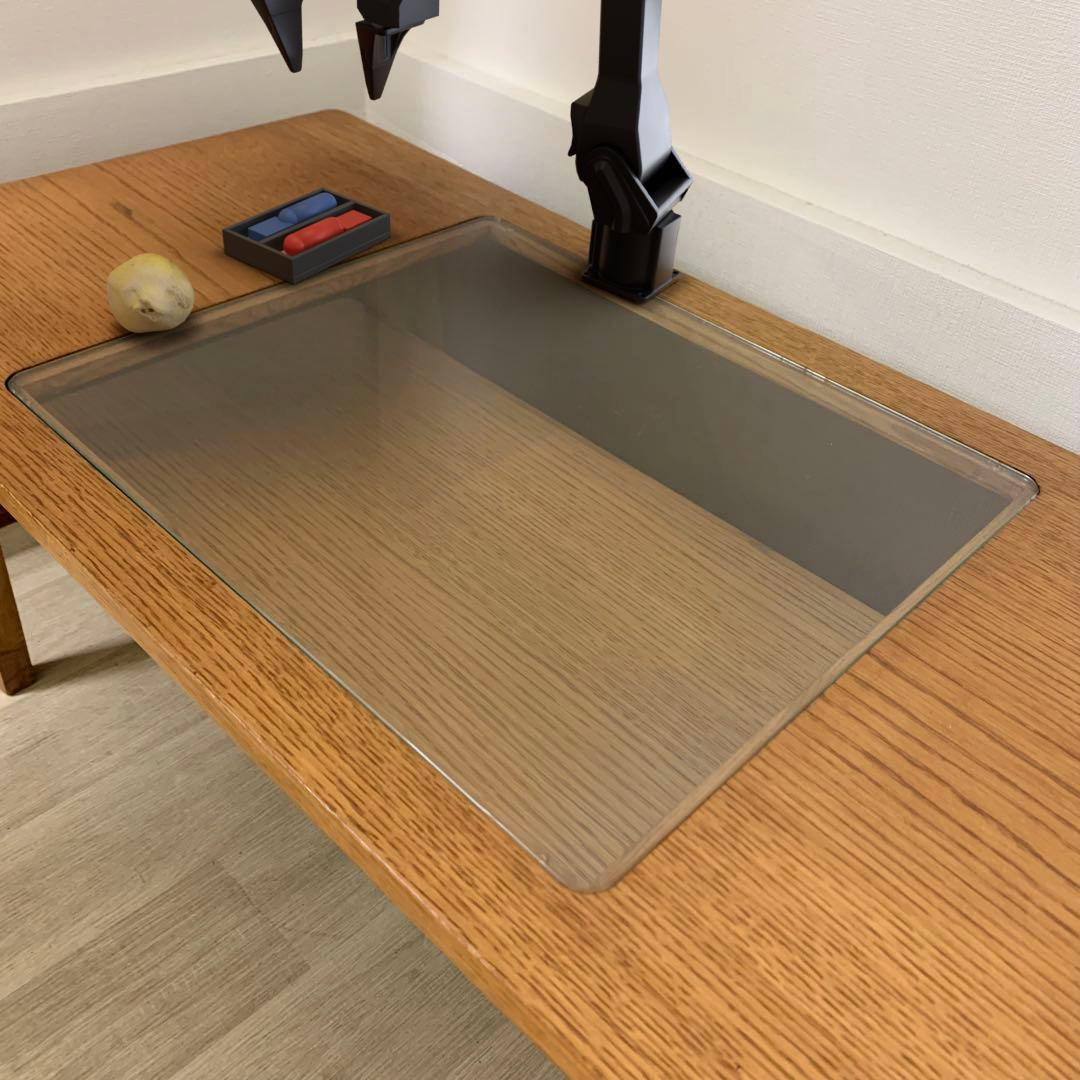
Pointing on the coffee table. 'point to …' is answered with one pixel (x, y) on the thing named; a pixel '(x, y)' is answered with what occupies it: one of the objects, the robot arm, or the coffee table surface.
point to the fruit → (149, 294)
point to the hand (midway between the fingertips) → (335, 85)
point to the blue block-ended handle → (293, 216)
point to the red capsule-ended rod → (322, 232)
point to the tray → (315, 259)
